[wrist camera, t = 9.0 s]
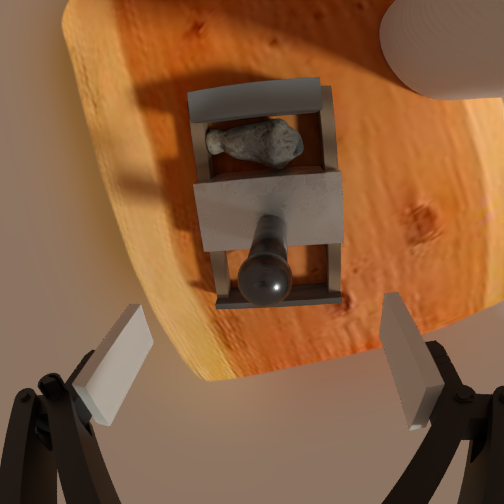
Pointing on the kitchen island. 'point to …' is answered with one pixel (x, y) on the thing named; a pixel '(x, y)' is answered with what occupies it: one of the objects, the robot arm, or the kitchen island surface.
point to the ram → (269, 221)
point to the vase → (446, 47)
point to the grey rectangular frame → (254, 106)
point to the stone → (258, 143)
